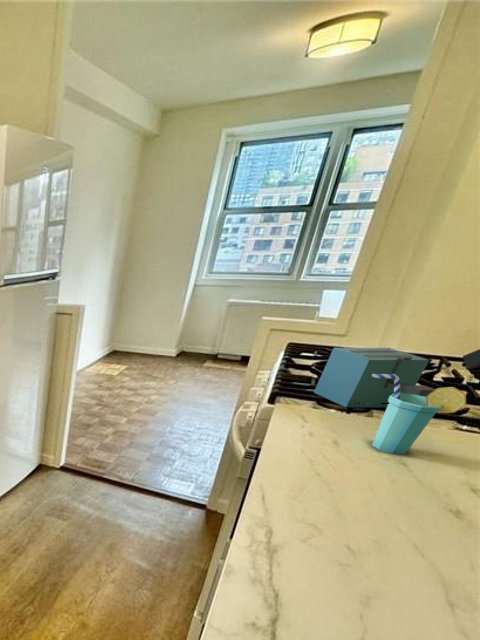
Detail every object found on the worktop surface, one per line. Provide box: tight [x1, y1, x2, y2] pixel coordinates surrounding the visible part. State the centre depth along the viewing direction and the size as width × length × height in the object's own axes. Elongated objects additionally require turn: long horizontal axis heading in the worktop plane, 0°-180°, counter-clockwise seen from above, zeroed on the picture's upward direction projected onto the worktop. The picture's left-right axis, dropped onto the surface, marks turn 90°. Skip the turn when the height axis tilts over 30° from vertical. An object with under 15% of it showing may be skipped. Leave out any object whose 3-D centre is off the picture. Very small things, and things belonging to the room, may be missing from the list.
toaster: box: [313, 347, 430, 408], centre depth 118 cm, size 14×12×13 cm
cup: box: [371, 374, 467, 455], centre depth 95 cm, size 14×8×15 cm, turn 57°
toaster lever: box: [387, 379, 437, 397], centre depth 110 cm, size 4×9×2 cm, turn 0°
